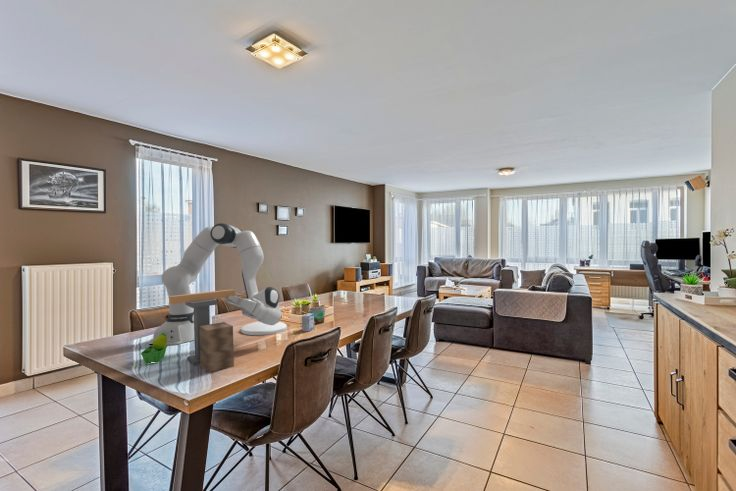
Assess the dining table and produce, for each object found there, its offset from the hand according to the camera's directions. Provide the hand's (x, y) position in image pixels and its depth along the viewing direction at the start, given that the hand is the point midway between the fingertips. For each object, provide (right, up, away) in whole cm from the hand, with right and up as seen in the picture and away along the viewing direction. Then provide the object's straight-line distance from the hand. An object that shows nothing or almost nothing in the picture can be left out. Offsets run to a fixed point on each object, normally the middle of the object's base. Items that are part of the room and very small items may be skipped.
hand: (224, 295), depth 160 cm
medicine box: (+30, -26, +42) cm, 58 cm away
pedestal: (+3, -27, -14) cm, 30 cm away
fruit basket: (-28, -28, -5) cm, 39 cm away
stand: (-7, -27, -6) cm, 29 cm away
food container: (+35, -25, +58) cm, 73 cm away
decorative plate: (+5, -27, +45) cm, 53 cm away
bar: (-7, -1, -6) cm, 9 cm away
